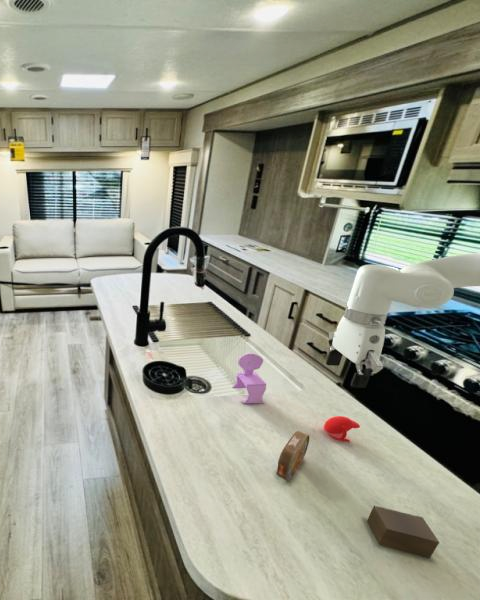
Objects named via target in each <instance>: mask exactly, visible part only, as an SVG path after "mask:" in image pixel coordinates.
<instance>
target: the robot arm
mask: <svg viewBox="0 0 480 600" xmlns="http://www.w3.org/2000/svg"><path fill="white" fill-rule="evenodd" d="M468 287H480V252H473V253H464V254H463V253H462V254H455V255H451V256H450V255H449V256H445V257H440V258H439V257H438V258H435V259H430V260H425V261H420V262H419V261H418V262H415V263H412V264H409V265H408V264H407V265H406V266H404V267H402V268H401V269H398V268H396V267H393V266H389V265H384V264H374V263H373V264H372V263H371V264H364V265H361V266H360V267H359V268H358V269H357V271H356V274H355V278H354V281H353V283H352V286H351V290H350V293H349V297H348V300H347V304H346V307H345V309H344V313H343V315H342V317H341V318H340V321H339V322H338V325H337V327H336V330H335V331H329V332H328V341H327V342H328V346H329V347H328V351H329V352H328V354H327V358H326V361H325V365H326V366H332V367H333V366H335V367H337V366H338V367H339V366H340V364H341V362H342V358H343V356H344V357H345V358H347V359H348V360H349V361H351V362H352V363H354V364H355V368H356V371H357V372H356V371H355V372H354V373H353V376H352V379H351V382H350V387H352V388H363V389H364V388H367V386H368V383H369V380H370V377H371V376H374V375H377V374H379V372H381V370H383V369H384V364H383V363H382V362H381V360H380V358H381V354H382V350H383V347H384V343H385V336H386V335H385V334H386V328H385V325H386V321H387V317H388V314H389V311H390V309H391V307H392V303H393V302H396V303H400V304H403V305H408V306H412V307H417V308H423V309H432V308H438V307H441V306H443V305H445V304H447V303H449V302H450V301H451V300H452V298H453V297H454V293H455V288H456V289H457V288H468ZM363 365H365V368H363Z"/></svg>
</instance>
